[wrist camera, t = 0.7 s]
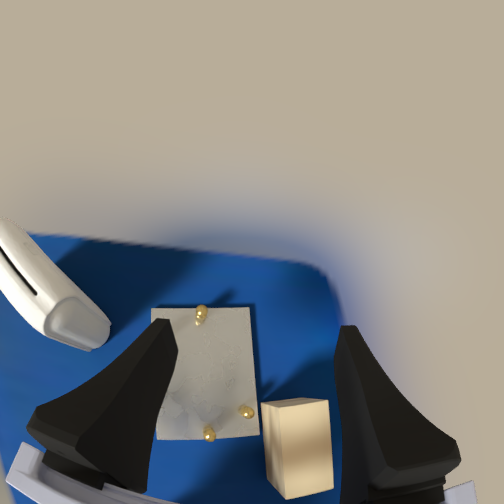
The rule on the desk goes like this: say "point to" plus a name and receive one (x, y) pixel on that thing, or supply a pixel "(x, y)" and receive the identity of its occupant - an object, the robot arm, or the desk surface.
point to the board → (298, 446)
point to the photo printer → (47, 293)
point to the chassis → (209, 375)
